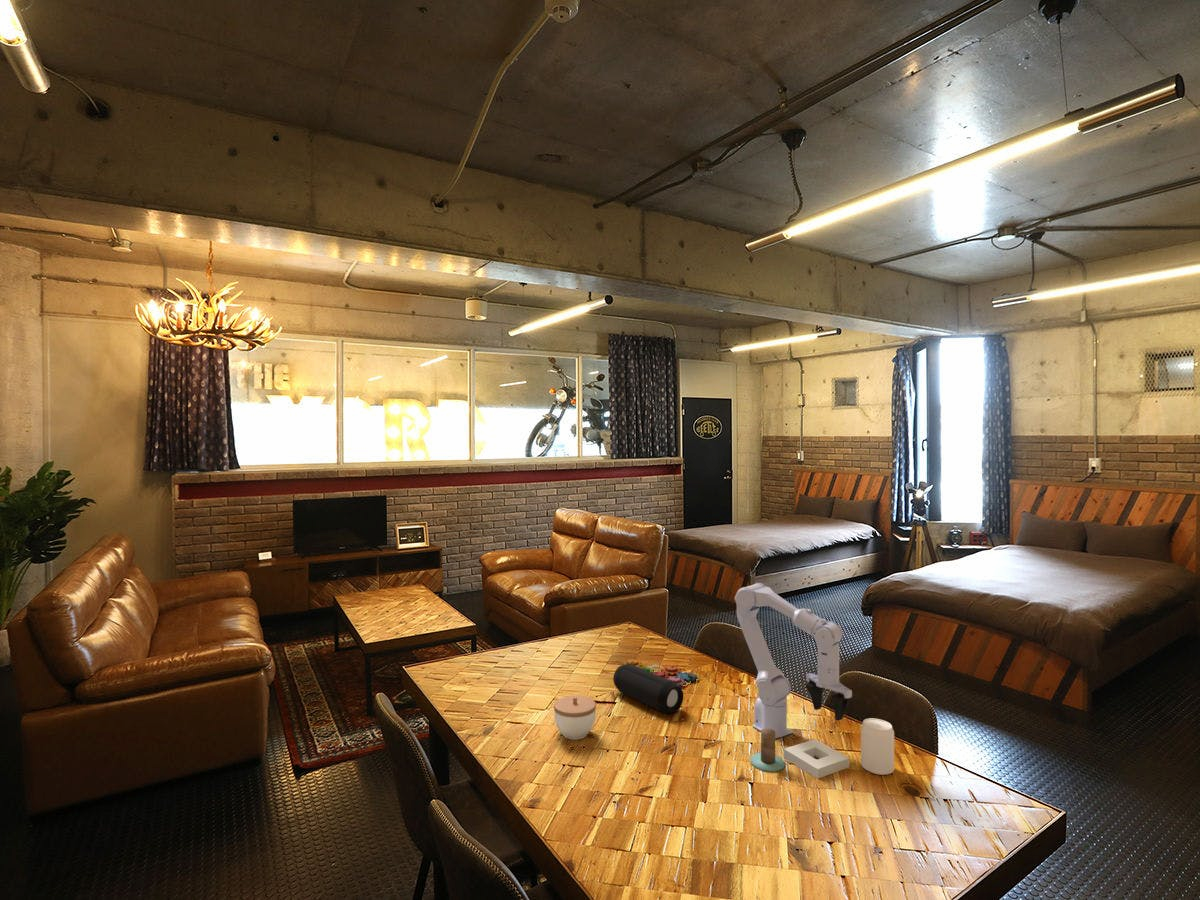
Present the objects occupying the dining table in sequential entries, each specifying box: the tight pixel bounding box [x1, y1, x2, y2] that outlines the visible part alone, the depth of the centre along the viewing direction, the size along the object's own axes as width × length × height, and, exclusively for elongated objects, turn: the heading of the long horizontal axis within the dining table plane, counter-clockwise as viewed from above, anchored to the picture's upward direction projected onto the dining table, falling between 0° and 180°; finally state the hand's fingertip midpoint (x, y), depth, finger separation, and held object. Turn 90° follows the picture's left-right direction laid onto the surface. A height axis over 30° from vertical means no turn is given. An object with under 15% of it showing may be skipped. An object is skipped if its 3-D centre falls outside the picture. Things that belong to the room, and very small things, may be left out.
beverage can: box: [860, 717, 895, 776], centre depth 165 cm, size 8×8×12 cm
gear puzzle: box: [621, 658, 699, 688], centre depth 232 cm, size 31×16×4 cm, turn 46°
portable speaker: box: [612, 664, 684, 714], centre depth 207 cm, size 26×10×10 cm, turn 40°
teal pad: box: [750, 752, 786, 773], centre depth 168 cm, size 9×9×1 cm
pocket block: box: [783, 738, 850, 780], centre depth 168 cm, size 12×12×2 cm
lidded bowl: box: [553, 695, 597, 741], centre depth 184 cm, size 13×13×11 cm
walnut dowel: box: [760, 728, 776, 764], centre depth 168 cm, size 4×4×8 cm
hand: (828, 714), depth 174 cm, fingers open, 7 cm apart
